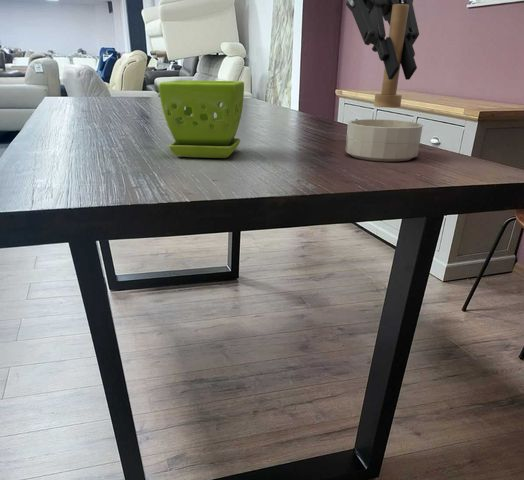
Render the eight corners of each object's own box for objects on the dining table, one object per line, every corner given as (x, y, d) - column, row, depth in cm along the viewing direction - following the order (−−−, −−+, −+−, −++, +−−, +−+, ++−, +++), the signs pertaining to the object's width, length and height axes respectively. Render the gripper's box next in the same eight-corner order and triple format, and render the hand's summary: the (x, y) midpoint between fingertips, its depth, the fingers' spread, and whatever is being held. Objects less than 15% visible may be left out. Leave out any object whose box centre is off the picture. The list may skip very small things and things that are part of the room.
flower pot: (245, 150, 101) (246, 80, 95) (237, 162, 89) (236, 83, 83) (179, 147, 102) (174, 78, 96) (161, 159, 90) (155, 81, 84)
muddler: (391, 105, 97) (405, 6, 88) (405, 107, 93) (421, 4, 84) (369, 105, 95) (381, 5, 87) (381, 107, 91) (395, 2, 83)
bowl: (393, 149, 106) (397, 118, 103) (431, 161, 95) (438, 127, 92) (333, 151, 102) (336, 119, 99) (366, 163, 91) (370, 128, 88)
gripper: (397, -9, 98) (429, 89, 94) (325, -14, 94) (354, 89, 89) (417, -47, 91) (452, 57, 86) (340, -54, 87) (372, 55, 82)
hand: (402, 73), depth 88 cm, fingers closed on muddler, 3 cm apart
